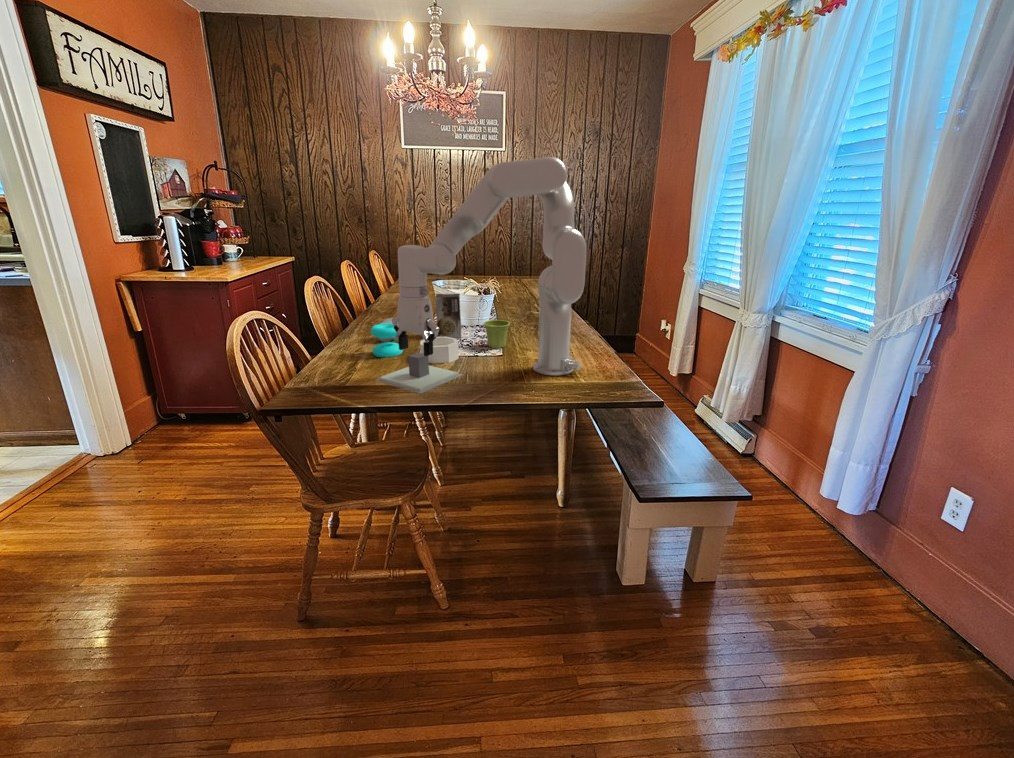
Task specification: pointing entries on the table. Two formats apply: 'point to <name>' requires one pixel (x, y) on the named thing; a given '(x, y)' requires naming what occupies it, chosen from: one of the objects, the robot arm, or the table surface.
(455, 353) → the bowl
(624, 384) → the table surface
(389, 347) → the donuts
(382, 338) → the ceramic mug
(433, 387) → the mat
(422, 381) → the lid
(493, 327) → the plant pot
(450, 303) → the coffee box
